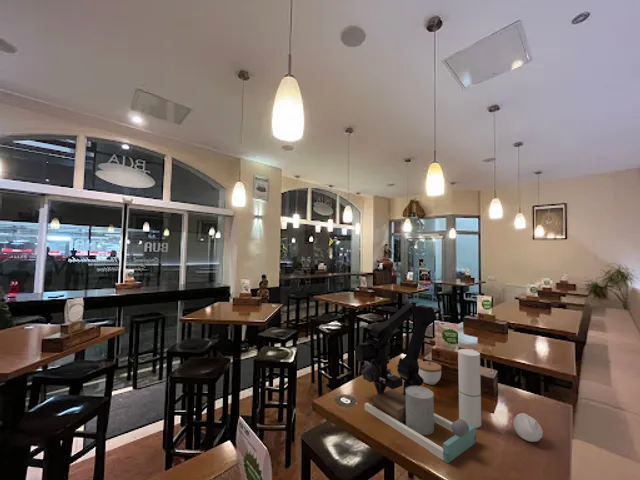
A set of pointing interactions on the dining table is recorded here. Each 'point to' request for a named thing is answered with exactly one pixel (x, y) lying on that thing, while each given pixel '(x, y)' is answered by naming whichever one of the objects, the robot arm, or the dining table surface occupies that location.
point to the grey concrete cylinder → (420, 409)
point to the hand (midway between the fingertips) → (380, 396)
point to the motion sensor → (527, 427)
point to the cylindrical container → (469, 387)
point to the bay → (451, 447)
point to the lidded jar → (429, 372)
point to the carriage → (391, 404)
